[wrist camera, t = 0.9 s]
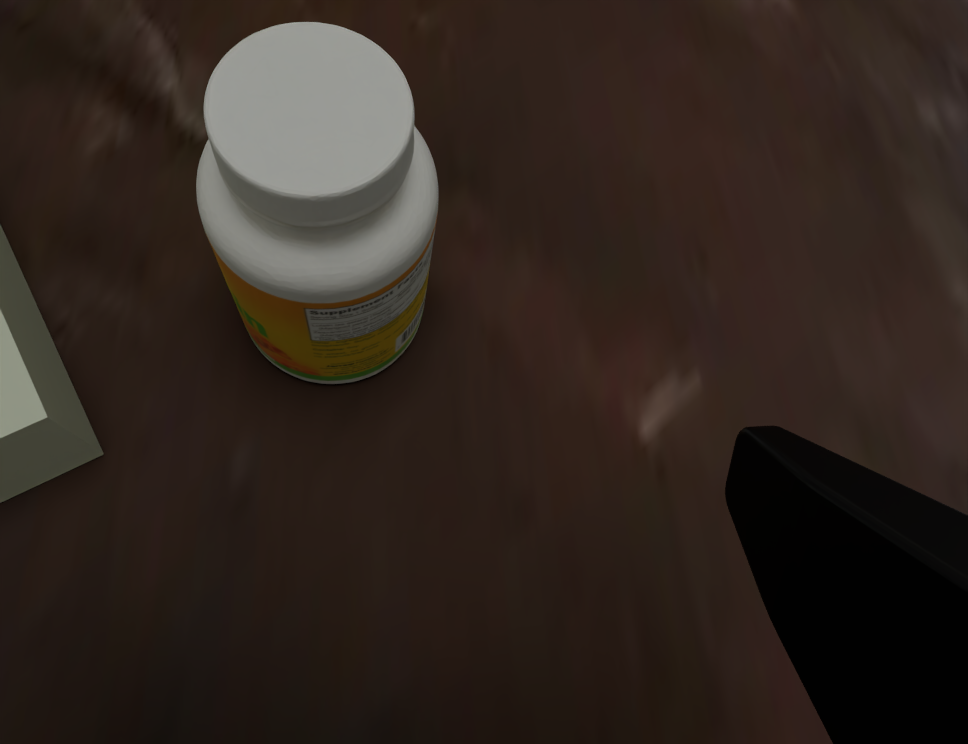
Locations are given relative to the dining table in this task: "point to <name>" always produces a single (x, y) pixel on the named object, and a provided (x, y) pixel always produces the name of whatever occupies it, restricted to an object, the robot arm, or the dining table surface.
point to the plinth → (34, 393)
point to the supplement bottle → (318, 199)
